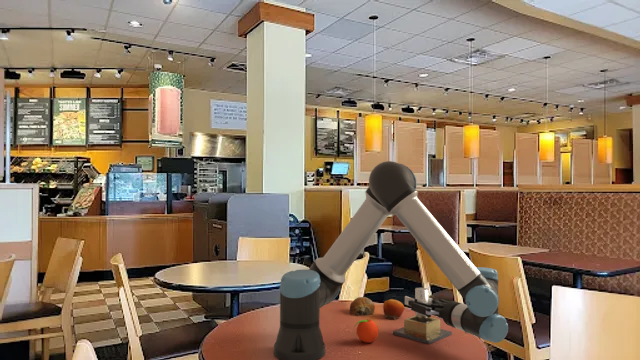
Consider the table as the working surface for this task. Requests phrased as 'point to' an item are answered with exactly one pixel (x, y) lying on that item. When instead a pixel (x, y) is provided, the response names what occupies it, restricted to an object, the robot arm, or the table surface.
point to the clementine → (367, 330)
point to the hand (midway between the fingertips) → (412, 299)
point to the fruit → (393, 308)
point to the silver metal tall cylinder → (423, 296)
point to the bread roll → (362, 306)
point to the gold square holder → (422, 330)
